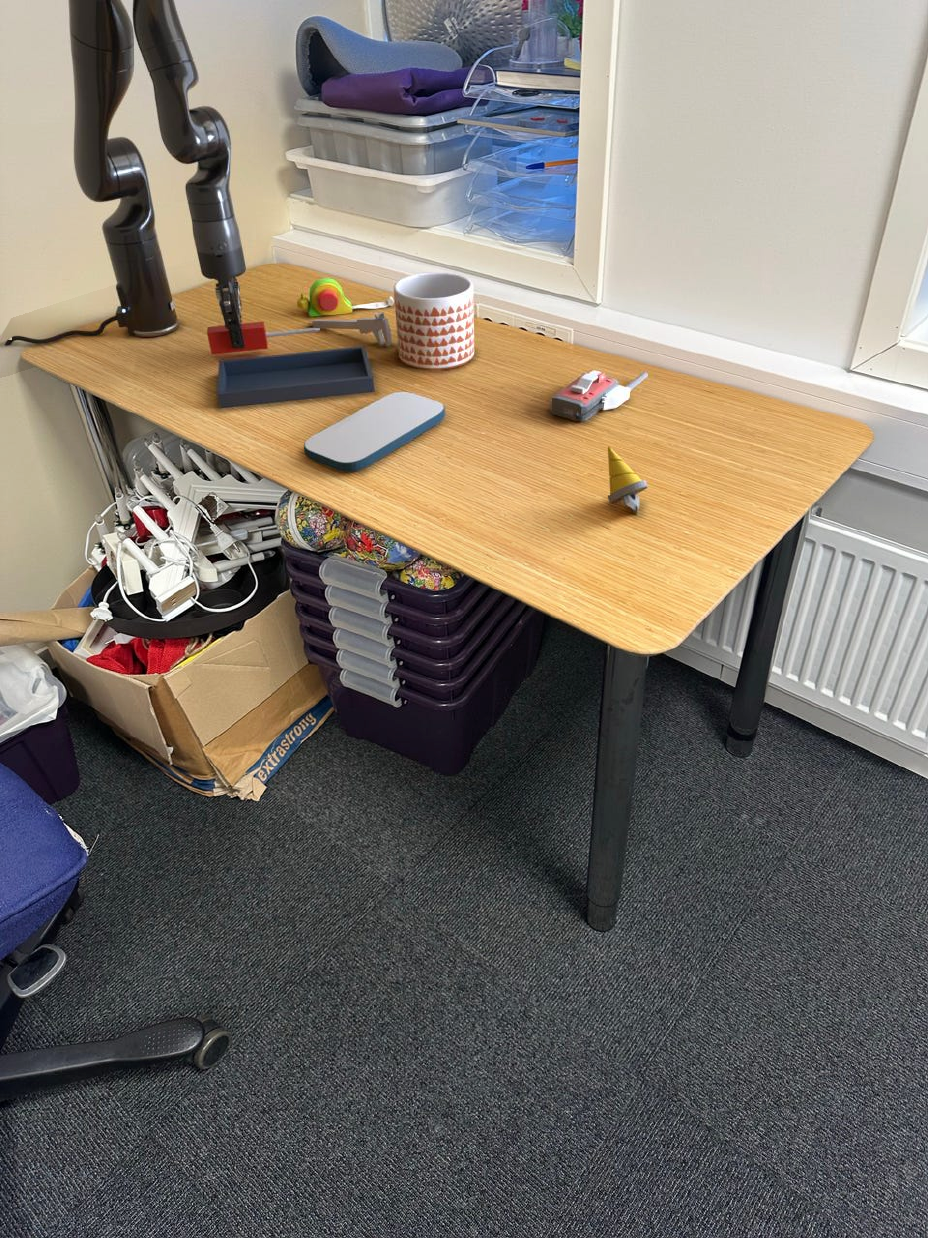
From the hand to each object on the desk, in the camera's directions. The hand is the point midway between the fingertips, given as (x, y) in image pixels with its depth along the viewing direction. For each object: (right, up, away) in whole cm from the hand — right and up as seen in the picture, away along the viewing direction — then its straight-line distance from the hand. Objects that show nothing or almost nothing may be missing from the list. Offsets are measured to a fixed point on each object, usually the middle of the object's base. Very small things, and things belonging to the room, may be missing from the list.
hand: (238, 343), depth 157 cm
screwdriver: (+5, 0, +1) cm, 5 cm away
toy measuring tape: (+17, +13, +19) cm, 29 cm away
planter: (+36, -2, 0) cm, 36 cm away
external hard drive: (+27, -22, -23) cm, 42 cm away
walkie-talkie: (+63, -14, -15) cm, 66 cm away
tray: (+12, -9, -7) cm, 17 cm away
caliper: (+19, +4, +9) cm, 21 cm away
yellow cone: (+62, -34, -39) cm, 81 cm away
